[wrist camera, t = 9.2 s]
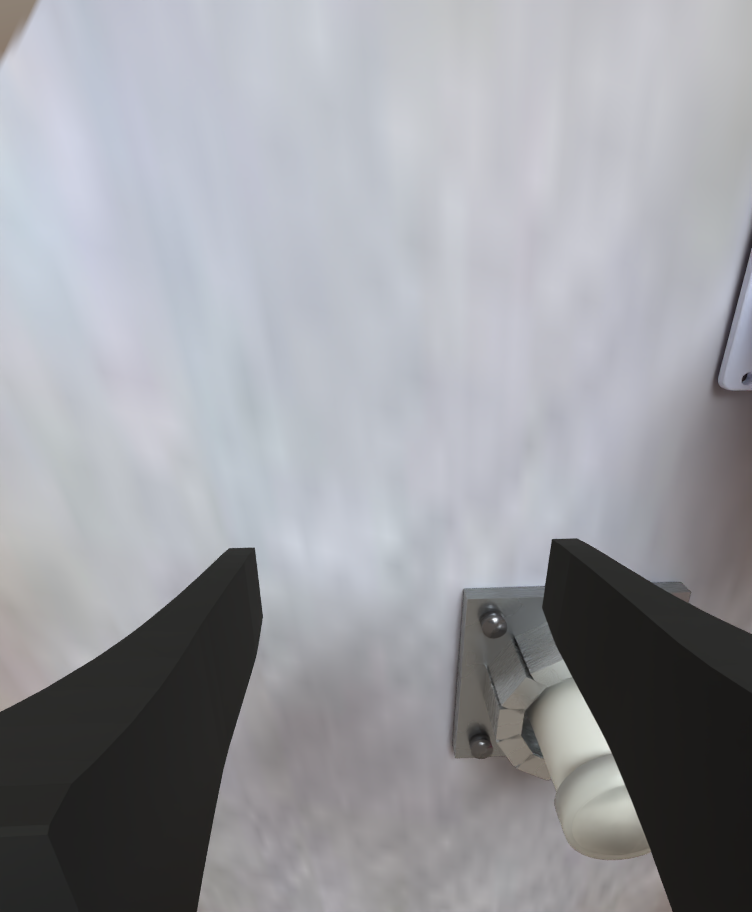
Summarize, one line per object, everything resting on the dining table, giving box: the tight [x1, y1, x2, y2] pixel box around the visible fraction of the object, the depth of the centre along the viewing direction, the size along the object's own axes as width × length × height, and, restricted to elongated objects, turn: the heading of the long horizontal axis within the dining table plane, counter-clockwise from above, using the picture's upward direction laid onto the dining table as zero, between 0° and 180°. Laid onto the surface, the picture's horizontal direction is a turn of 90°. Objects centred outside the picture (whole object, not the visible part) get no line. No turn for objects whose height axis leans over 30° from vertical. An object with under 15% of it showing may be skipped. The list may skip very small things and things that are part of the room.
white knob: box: [526, 677, 651, 860], centre depth 22 cm, size 5×5×7 cm
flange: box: [453, 582, 691, 781], centre depth 25 cm, size 11×11×3 cm
